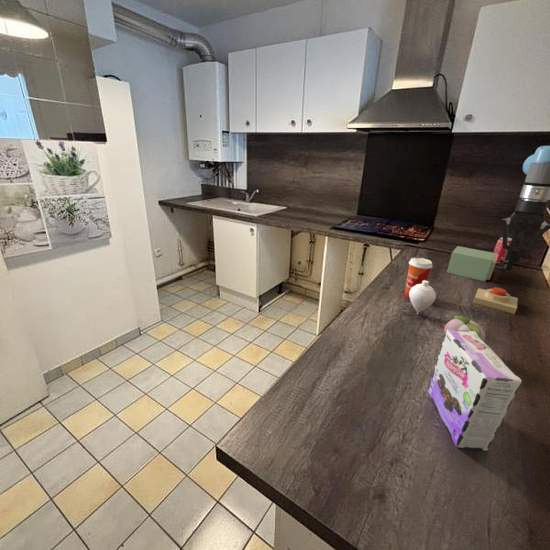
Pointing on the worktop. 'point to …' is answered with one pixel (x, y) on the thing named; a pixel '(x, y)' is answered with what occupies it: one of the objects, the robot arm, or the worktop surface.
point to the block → (496, 300)
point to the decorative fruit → (465, 326)
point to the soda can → (501, 251)
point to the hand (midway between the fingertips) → (508, 269)
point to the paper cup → (417, 273)
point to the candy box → (471, 389)
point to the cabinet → (470, 263)
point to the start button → (498, 291)
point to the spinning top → (422, 296)
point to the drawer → (495, 267)
